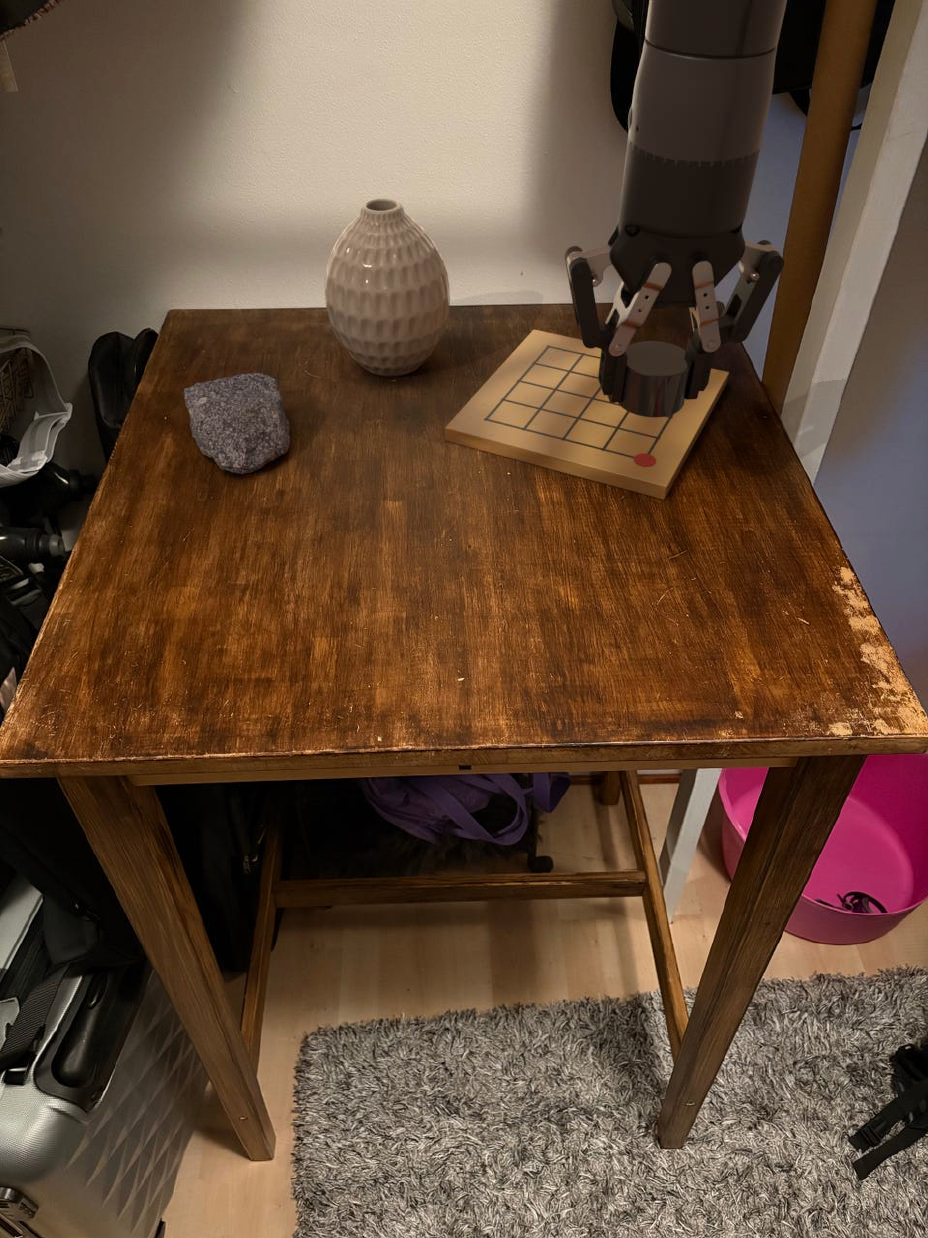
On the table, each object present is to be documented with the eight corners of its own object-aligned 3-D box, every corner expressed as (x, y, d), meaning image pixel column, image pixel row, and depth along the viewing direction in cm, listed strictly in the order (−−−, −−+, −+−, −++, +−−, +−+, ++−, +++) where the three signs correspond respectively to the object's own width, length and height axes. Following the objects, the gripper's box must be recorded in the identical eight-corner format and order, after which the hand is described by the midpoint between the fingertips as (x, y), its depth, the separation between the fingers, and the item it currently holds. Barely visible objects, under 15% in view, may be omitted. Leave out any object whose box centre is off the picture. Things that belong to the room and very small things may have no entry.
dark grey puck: (691, 390, 65) (700, 349, 63) (673, 424, 62) (681, 382, 59) (627, 375, 66) (633, 335, 64) (606, 407, 63) (611, 366, 61)
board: (726, 384, 95) (729, 371, 94) (664, 500, 81) (667, 485, 80) (533, 341, 102) (533, 328, 101) (444, 440, 88) (444, 426, 87)
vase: (469, 378, 96) (469, 218, 84) (353, 403, 93) (336, 240, 81) (426, 326, 105) (420, 173, 93) (318, 347, 101) (299, 191, 89)
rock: (165, 389, 86) (260, 349, 89) (183, 433, 90) (273, 394, 93) (214, 454, 80) (314, 409, 83) (231, 499, 84) (326, 454, 87)
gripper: (583, 158, 49) (558, 429, 61) (841, 151, 50) (766, 419, 62) (560, 114, 54) (542, 372, 66) (794, 109, 55) (734, 363, 67)
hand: (650, 394), depth 64 cm, fingers closed on dark grey puck, 4 cm apart
